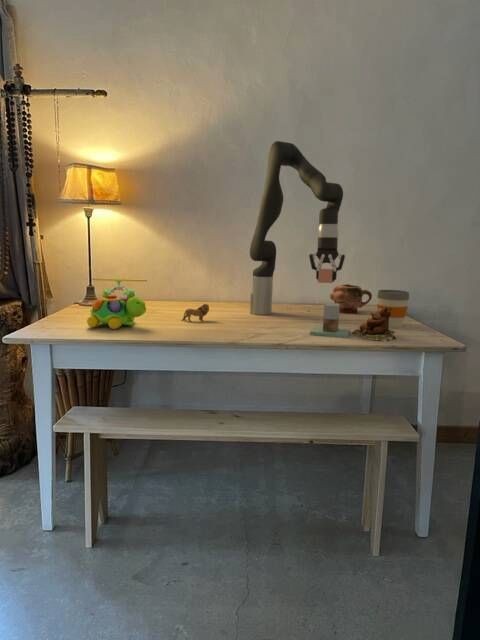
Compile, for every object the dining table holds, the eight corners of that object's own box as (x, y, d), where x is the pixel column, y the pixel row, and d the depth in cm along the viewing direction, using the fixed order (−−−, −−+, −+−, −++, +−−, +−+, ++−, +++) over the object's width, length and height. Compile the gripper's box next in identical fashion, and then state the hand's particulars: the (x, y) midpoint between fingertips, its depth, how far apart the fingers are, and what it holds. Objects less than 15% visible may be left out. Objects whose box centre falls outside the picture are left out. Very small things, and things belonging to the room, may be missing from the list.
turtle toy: (137, 331, 180) (137, 300, 178) (79, 327, 184) (78, 296, 182) (153, 323, 196) (153, 294, 194) (100, 319, 200) (99, 291, 198)
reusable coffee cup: (390, 331, 194) (393, 294, 191) (368, 325, 205) (371, 290, 202) (412, 329, 200) (416, 293, 197) (390, 323, 211) (393, 289, 208)
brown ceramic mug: (365, 312, 239) (367, 284, 236) (374, 316, 227) (376, 287, 224) (325, 311, 237) (327, 283, 234) (332, 316, 225) (334, 286, 222)
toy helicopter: (148, 308, 231) (148, 278, 228) (145, 311, 222) (145, 280, 219) (95, 307, 229) (94, 276, 226) (90, 310, 220) (89, 278, 218)
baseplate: (309, 334, 182) (309, 331, 182) (314, 328, 194) (314, 325, 194) (347, 338, 178) (347, 334, 178) (350, 331, 190) (350, 328, 189)
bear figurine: (367, 331, 193) (370, 301, 190) (402, 338, 182) (405, 306, 180) (347, 336, 183) (350, 304, 181) (383, 343, 173) (385, 309, 170)
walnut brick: (322, 331, 183) (323, 318, 182) (325, 328, 190) (326, 315, 189) (336, 332, 182) (336, 319, 181) (338, 329, 188) (338, 316, 188)
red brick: (318, 282, 185) (318, 269, 184) (320, 281, 191) (321, 268, 191) (331, 283, 183) (331, 269, 183) (333, 281, 190) (334, 269, 189)
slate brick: (323, 318, 182) (324, 305, 182) (326, 315, 189) (326, 302, 188) (336, 319, 181) (337, 306, 180) (338, 316, 188) (339, 303, 187)
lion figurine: (207, 319, 207) (207, 303, 205) (210, 321, 203) (210, 304, 201) (180, 321, 202) (180, 303, 201) (182, 322, 198) (182, 305, 197)
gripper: (307, 236, 183) (306, 281, 186) (346, 236, 179) (344, 282, 182) (310, 236, 190) (309, 279, 193) (347, 236, 186) (345, 281, 189)
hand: (326, 280), depth 187 cm, fingers closed on red brick, 5 cm apart
